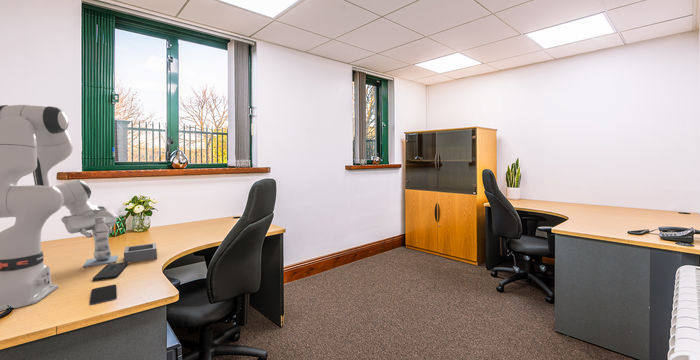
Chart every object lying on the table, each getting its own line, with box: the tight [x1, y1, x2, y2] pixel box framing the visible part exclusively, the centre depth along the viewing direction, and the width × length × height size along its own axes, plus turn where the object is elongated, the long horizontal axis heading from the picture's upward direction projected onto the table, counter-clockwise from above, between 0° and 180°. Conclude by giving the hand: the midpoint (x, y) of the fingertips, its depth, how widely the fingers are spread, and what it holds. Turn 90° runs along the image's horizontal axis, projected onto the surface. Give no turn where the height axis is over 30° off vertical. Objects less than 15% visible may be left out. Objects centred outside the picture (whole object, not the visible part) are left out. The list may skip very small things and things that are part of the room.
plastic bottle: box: [91, 218, 112, 260], centre depth 149 cm, size 6×7×20 cm
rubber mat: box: [82, 255, 119, 268], centre depth 149 cm, size 12×12×1 cm
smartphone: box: [89, 284, 118, 306], centre depth 109 cm, size 7×1×15 cm
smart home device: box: [92, 261, 129, 282], centre depth 134 cm, size 8×2×20 cm
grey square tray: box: [123, 242, 158, 264], centre depth 154 cm, size 13×13×5 cm
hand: (100, 234), depth 148 cm, fingers open, 8 cm apart
